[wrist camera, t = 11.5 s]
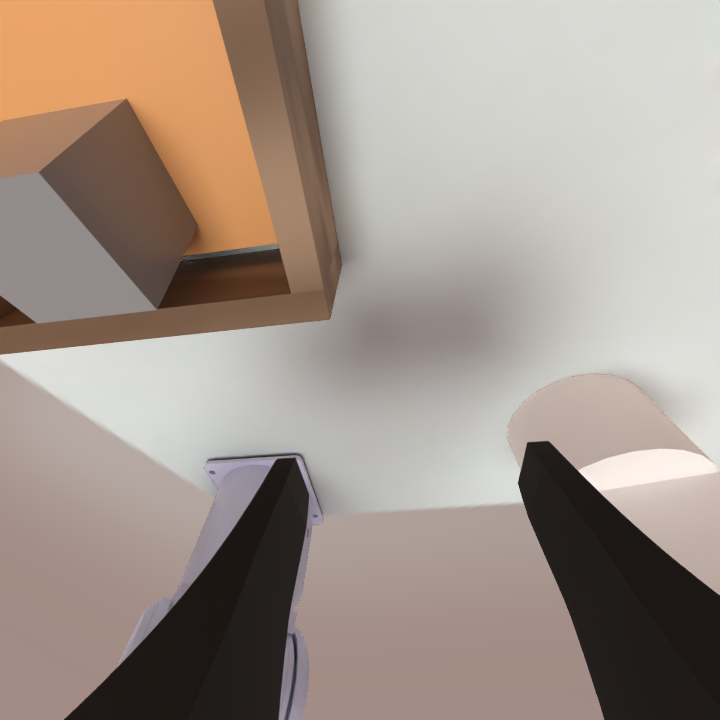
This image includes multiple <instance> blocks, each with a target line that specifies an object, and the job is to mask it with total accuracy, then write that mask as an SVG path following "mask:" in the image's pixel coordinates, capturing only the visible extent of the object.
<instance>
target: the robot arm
mask: <svg viewBox="0 0 720 720" xmlns="http://www.w3.org/2000/svg"><path fill="white" fill-rule="evenodd" d="M204 469H205V470H206V472H207V473H208V475H209V477H210V478H211V480H212V481H213V483H214V485H215V486H216V488H217V489H218V493H217V495H216V497H215V500H214V502H213V505H212V507H211V509H210V512H209V515H208V517H207V519H206V522H205V524H204V526H203V529H202V531H201V534H200V536H199V539H198V541H197V543H196V546H195V548H194V550H193V553H192V555H191V558H190V560H189V562H188V565H187V567H186V570H185V572H184V574H183V577H182V579H181V582H180V584H179V586H178V589H177V591H176V593H175V594H174V596H173V597H172V598H171V600H170V599H168V598H164V597H163V598H159V600H158V601H157V602H155V603H153V604H151V605H150V606H148V607H147V608H146V609H145V611H144V613H143V614H142V616H141V618H140V620H139V622H138V624H137V626H136V628H135V630H134V632H133V634H132V636H131V638H130V640H129V642H128V644H127V646H126V648H125V651H124V652H123V654H122V657H121V659H120V661H119V663H118V665H117V667H116V669H115V670H114V671H113V672H112V673H111V674H110V675H109V677H107V679H106V680H105V681H104V682H103V683H102V684H100V686H98V687H97V688H96V690H95V691H93V692H92V693H91V694H90V695H89V696H88V697H87V698H86V699H85V700H84V701H83V702H82V703H81V704H80V705H79V706H78V707H77V708H76V709H75V710H74V711H72V712H71V713H70V715H68V716H67V717H66V718H65V719H64V720H302V718H303V714H304V710H305V705H306V699H307V692H308V683H309V658H308V651H307V648H306V645H305V641H304V637H303V635H302V633H301V632H300V631H299V630H298V629H295V621H296V614H297V612H296V611H294V610H295V609H296V607H297V605H298V603H299V601H300V598H301V595H302V591H303V585H304V578H305V571H306V565H307V558H308V551H309V544H310V537H311V530H312V525H319V524H322V523H323V516H322V513H321V510H320V508H319V505H318V502H317V499H316V496H315V494H314V491H313V488H312V485H311V482H310V480H309V477H308V474H307V471H306V468H305V466H304V463H303V460H302V458H301V457H300V456H297V455H291V456H276V457H261V458H246V459H231V460H216V461H207V462H206V463H205V465H204ZM518 485H519V488H520V492H521V495H522V498H523V502H524V505H525V508H526V511H527V514H528V517H529V520H530V522H531V524H532V527H533V529H534V531H535V534H536V536H537V538H538V541H539V543H540V545H541V548H542V550H543V552H544V555H545V557H546V559H547V561H548V564H549V566H550V568H551V570H552V573H553V575H554V577H555V579H556V582H557V584H558V586H559V589H560V591H561V593H562V596H563V598H564V600H565V603H566V605H567V608H568V611H569V613H570V616H571V618H572V622H573V624H574V627H575V630H576V633H577V636H578V639H579V642H580V645H581V648H582V651H583V653H584V657H585V660H586V663H587V666H588V669H589V672H590V675H591V678H592V681H593V684H594V688H595V691H596V694H597V697H598V700H599V703H600V706H601V710H602V713H603V716H604V720H720V595H719V594H718V593H716V592H715V591H714V590H712V589H711V588H710V587H708V586H707V585H706V584H704V583H703V582H702V581H701V580H699V579H698V578H697V577H696V576H694V575H693V574H692V573H691V572H689V571H688V570H687V569H686V568H684V567H683V566H682V565H681V564H680V563H678V562H677V561H676V560H675V559H673V558H672V557H671V556H670V555H669V554H667V553H666V552H665V551H664V550H663V549H662V548H660V547H659V546H658V545H657V544H656V543H655V542H653V541H652V540H651V539H650V538H649V537H648V536H647V535H645V534H644V533H643V532H642V531H641V530H640V529H639V528H637V527H636V526H635V525H634V524H633V523H632V522H631V521H630V520H629V519H628V518H626V517H625V516H624V515H623V514H622V513H621V512H620V511H619V510H618V509H617V508H616V507H615V506H614V505H613V504H611V503H610V502H609V501H608V500H607V499H606V498H605V497H604V496H603V495H602V494H601V493H600V492H599V491H598V490H597V489H596V488H595V487H594V486H593V485H592V484H591V483H590V482H589V481H588V480H587V479H586V478H585V477H584V476H583V475H582V474H581V473H580V472H579V471H578V470H577V469H576V468H575V467H574V466H573V465H572V464H571V463H570V462H569V461H568V460H567V459H566V458H565V457H564V456H563V455H562V454H561V453H560V452H559V451H558V450H557V449H556V448H555V447H554V446H553V445H552V443H550V442H549V441H537V442H527V445H526V449H525V454H524V458H523V463H522V468H521V472H520V477H519V481H518Z"/></svg>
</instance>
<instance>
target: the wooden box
mask: <svg viewBox="0 0 720 720" xmlns="http://www.w3.org/2000/svg"><path fill="white" fill-rule="evenodd" d="M213 4H214V8H215V11H216V15H217V19H218V22H219V26H220V30H221V34H222V37H223V41H224V45H225V48H226V52H227V56H228V60H229V63H230V67H231V71H232V75H233V78H234V82H235V86H236V89H237V93H238V97H239V101H240V104H241V108H242V112H243V115H244V119H245V123H246V127H247V130H248V134H249V138H250V141H251V145H252V149H253V153H254V156H255V160H256V164H257V168H258V171H259V175H260V179H261V182H262V186H263V190H264V194H265V197H266V201H267V205H268V208H269V212H270V216H271V220H272V223H273V227H274V231H275V234H276V238H277V242H278V246H279V249H276V250H268V251H261V252H253V253H245V254H237V255H230V256H222V257H214V258H207V259H199V260H191V261H183V262H180V264H179V266H178V268H177V270H176V272H175V274H174V276H173V278H172V280H171V282H170V284H169V286H168V288H167V290H166V293H165V295H164V297H163V299H162V301H161V303H160V305H159V307H158V309H157V310H153V311H144V312H136V313H127V314H118V315H109V316H100V317H91V318H82V319H73V320H65V321H56V322H47V323H38V324H37V323H36V322H35V321H33V320H32V319H31V318H29V317H28V316H27V315H25V314H24V313H23V312H21V311H20V310H19V309H17V308H16V307H15V306H14V305H12V304H11V303H10V302H8V301H7V300H6V299H4V298H3V297H2V296H0V355H1V354H10V353H20V352H29V351H38V350H48V349H57V348H67V347H76V346H85V345H95V344H104V343H114V342H123V341H132V340H142V339H151V338H160V337H170V336H179V335H189V334H198V333H207V332H217V331H226V330H236V329H245V328H254V327H264V326H273V325H283V324H292V323H301V322H311V321H320V320H329V319H330V318H331V313H332V308H333V303H334V299H335V294H336V289H337V284H338V280H339V275H340V270H341V265H342V264H341V258H340V252H339V246H338V240H337V234H336V228H335V222H334V216H333V211H332V205H331V199H330V193H329V187H328V181H327V175H326V169H325V163H324V157H323V151H322V145H321V139H320V133H319V127H318V121H317V115H316V110H315V104H314V98H313V92H312V86H311V80H310V74H309V68H308V62H307V56H306V50H305V44H304V38H303V32H302V26H301V20H300V14H299V9H298V3H297V0H213Z"/></svg>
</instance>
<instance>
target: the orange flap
mask: <svg viewBox="0 0 720 720" xmlns="http://www.w3.org/2000/svg"><path fill="white" fill-rule="evenodd" d="M126 98H127V100H128V102H129V103H130V105H131V107H132V109H133V111H134V112H135V114H136V116H137V118H138V119H139V121H140V123H141V125H142V127H143V128H144V130H145V132H146V134H147V135H148V137H149V139H150V141H151V142H152V144H153V146H154V148H155V150H156V151H157V153H158V155H159V157H160V158H161V160H162V162H163V164H164V166H165V167H166V169H167V171H168V173H169V174H170V176H171V178H172V180H173V181H174V183H175V185H176V187H177V189H178V190H179V192H180V194H181V196H182V197H183V199H184V201H185V203H186V205H187V206H188V208H189V210H190V212H191V213H192V215H193V217H194V219H195V220H196V222H197V224H198V227H197V229H196V231H195V233H194V235H193V237H192V239H191V241H190V243H189V245H188V247H187V249H186V251H185V253H184V256H187V255H195V254H202V253H210V252H218V251H225V250H233V249H240V248H248V247H256V246H263V245H271V244H278V242H277V238H276V234H275V231H274V227H273V223H272V220H271V216H270V212H269V208H268V205H267V201H266V197H265V194H264V190H263V186H262V182H261V179H260V175H259V171H258V168H257V164H256V160H255V156H254V153H253V149H252V145H251V141H250V138H249V134H248V130H247V127H246V123H245V119H244V115H243V112H242V108H241V104H240V101H239V97H238V93H237V89H236V86H235V82H234V78H233V75H232V71H231V67H230V63H229V60H228V56H227V52H226V48H225V45H224V41H223V37H222V34H221V30H220V26H219V22H218V19H217V15H216V11H215V8H214V4H213V0H0V122H1V121H3V120H8V119H14V118H20V117H25V116H31V115H36V114H42V113H47V112H53V111H59V110H64V109H70V108H75V107H81V106H87V105H92V104H98V103H103V102H109V101H114V100H120V99H126Z"/></svg>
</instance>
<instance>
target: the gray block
mask: <svg viewBox="0 0 720 720" xmlns="http://www.w3.org/2000/svg"><path fill="white" fill-rule="evenodd" d="M197 227H198V224H197V222H196V220H195V219H194V217H193V215H192V213H191V212H190V210H189V208H188V206H187V205H186V203H185V201H184V199H183V197H182V196H181V194H180V192H179V190H178V189H177V187H176V185H175V183H174V181H173V180H172V178H171V176H170V174H169V173H168V171H167V169H166V167H165V166H164V164H163V162H162V160H161V158H160V157H159V155H158V153H157V151H156V150H155V148H154V146H153V144H152V142H151V141H150V139H149V137H148V135H147V134H146V132H145V130H144V128H143V127H142V125H141V123H140V121H139V119H138V118H137V116H136V114H135V112H134V111H133V109H132V107H131V105H130V103H129V102H128V100H127V98H126V99H120V100H114V101H109V102H103V103H98V104H92V105H87V106H81V107H75V108H70V109H64V110H59V111H53V112H47V113H42V114H36V115H31V116H25V117H20V118H14V119H8V120H3V121H1V122H0V296H2V297H3V298H4V299H6V300H7V301H8V302H10V303H11V304H12V305H14V306H15V307H16V308H17V309H19V310H20V311H21V312H23V313H24V314H25V315H27V316H28V317H29V318H31V319H32V320H33V321H35V322H36V323H37V324H38V323H47V322H56V321H65V320H73V319H82V318H91V317H100V316H109V315H118V314H127V313H136V312H144V311H153V310H157V309H158V307H159V305H160V303H161V301H162V299H163V297H164V295H165V293H166V290H167V288H168V286H169V284H170V282H171V280H172V278H173V276H174V274H175V272H176V270H177V268H178V266H179V264H180V262H181V260H182V258H183V256H184V253H185V251H186V249H187V247H188V245H189V243H190V241H191V239H192V237H193V235H194V233H195V231H196V229H197Z"/></svg>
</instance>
